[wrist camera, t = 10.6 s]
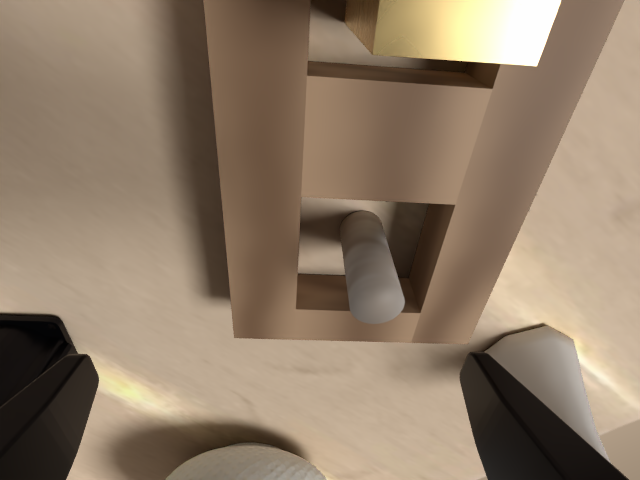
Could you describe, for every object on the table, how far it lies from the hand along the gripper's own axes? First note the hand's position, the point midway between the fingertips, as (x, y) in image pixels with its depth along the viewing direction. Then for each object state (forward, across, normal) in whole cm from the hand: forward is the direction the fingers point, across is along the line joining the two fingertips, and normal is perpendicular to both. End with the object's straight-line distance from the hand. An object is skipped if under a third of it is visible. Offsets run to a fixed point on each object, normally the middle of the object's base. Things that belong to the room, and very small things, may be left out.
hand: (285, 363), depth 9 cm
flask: (+12, -18, +15) cm, 26 cm away
